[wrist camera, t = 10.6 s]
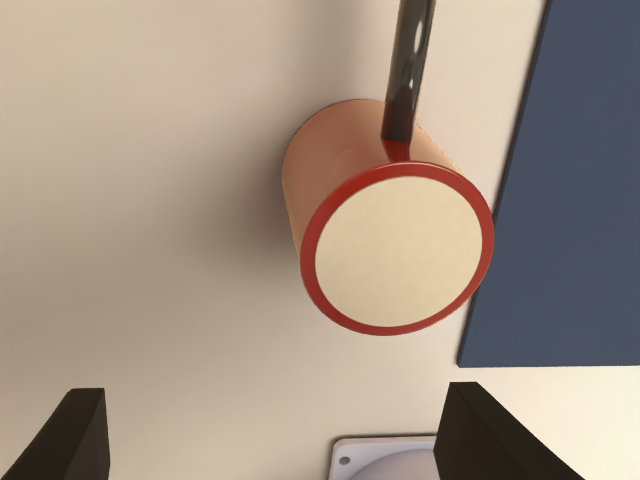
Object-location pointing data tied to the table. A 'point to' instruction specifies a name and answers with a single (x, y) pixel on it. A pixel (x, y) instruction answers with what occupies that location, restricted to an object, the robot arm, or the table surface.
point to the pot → (385, 205)
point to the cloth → (569, 203)
